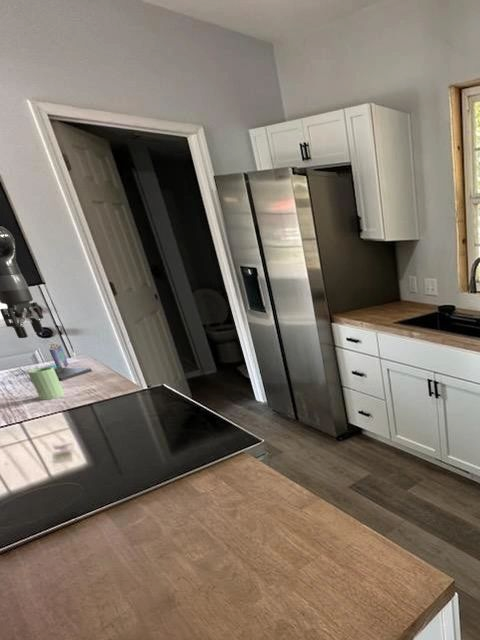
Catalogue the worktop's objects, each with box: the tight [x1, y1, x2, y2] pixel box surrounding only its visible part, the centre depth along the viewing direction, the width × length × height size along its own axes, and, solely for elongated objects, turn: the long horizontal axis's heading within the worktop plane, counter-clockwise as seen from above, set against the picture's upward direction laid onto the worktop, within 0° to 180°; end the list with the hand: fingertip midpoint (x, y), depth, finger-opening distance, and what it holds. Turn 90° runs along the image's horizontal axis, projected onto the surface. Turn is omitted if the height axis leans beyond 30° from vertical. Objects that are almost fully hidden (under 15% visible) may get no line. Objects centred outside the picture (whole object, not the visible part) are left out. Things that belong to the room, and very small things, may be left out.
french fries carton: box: [48, 342, 69, 368], centre depth 174 cm, size 9×3×11 cm, turn 37°
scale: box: [54, 366, 93, 382], centre depth 165 cm, size 13×11×3 cm
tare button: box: [45, 364, 57, 369], centre depth 164 cm, size 3×3×2 cm
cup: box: [27, 366, 66, 401], centre depth 143 cm, size 6×6×10 cm
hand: (31, 334), depth 145 cm, fingers open, 8 cm apart
